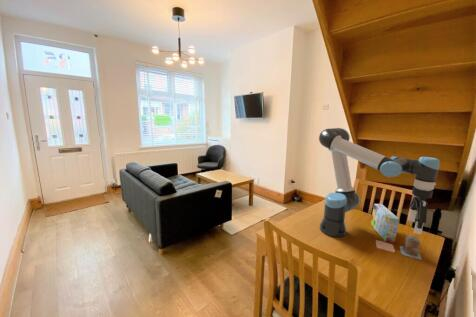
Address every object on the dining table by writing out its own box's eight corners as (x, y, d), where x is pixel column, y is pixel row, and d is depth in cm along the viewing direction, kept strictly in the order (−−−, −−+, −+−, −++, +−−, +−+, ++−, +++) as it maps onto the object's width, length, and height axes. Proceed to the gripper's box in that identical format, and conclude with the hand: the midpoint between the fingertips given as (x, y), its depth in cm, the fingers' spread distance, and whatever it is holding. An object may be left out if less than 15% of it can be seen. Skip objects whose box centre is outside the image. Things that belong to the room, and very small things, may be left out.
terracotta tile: (376, 248, 113) (377, 247, 113) (375, 240, 120) (375, 240, 120) (394, 252, 109) (395, 252, 109) (392, 244, 116) (392, 244, 116)
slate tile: (402, 254, 108) (402, 254, 108) (399, 246, 114) (399, 245, 114) (421, 260, 104) (422, 259, 104) (417, 251, 111) (418, 250, 111)
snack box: (396, 243, 117) (400, 219, 114) (385, 242, 118) (389, 218, 115) (379, 224, 138) (382, 203, 135) (369, 223, 139) (372, 202, 136)
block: (405, 253, 108) (408, 239, 106) (403, 248, 112) (406, 234, 111) (417, 256, 106) (420, 242, 104) (415, 251, 110) (418, 237, 108)
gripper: (442, 198, 89) (430, 241, 94) (425, 182, 111) (417, 218, 115) (419, 195, 93) (410, 236, 98) (408, 180, 114) (400, 215, 119)
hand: (414, 227), depth 107 cm, fingers open, 13 cm apart
